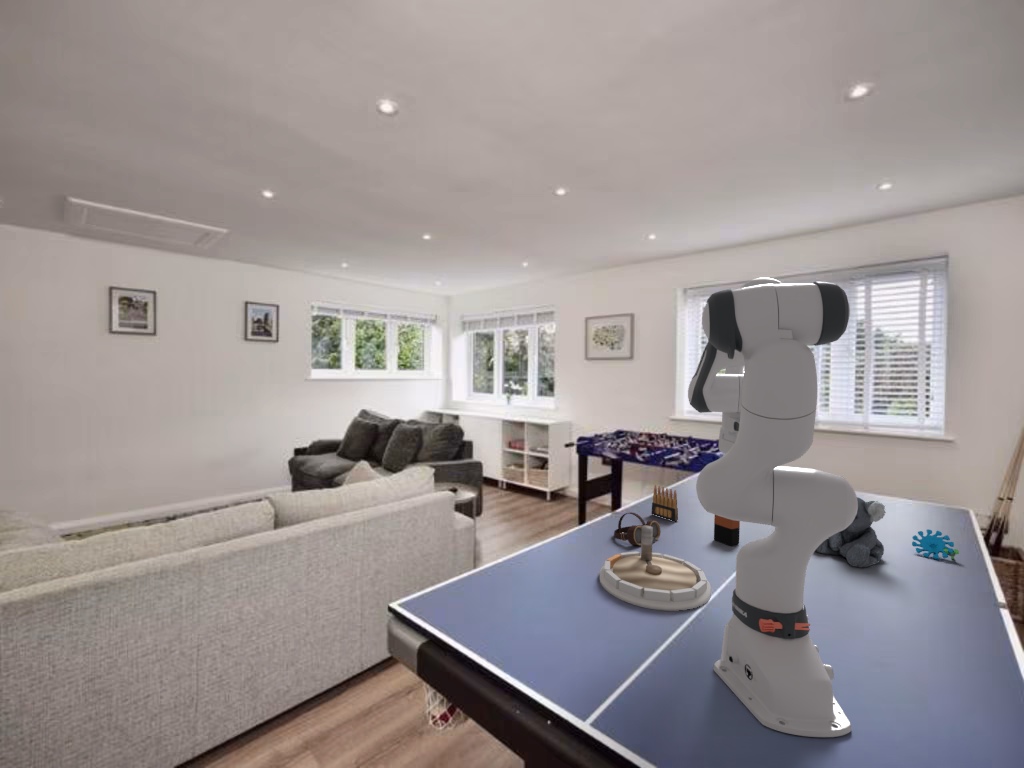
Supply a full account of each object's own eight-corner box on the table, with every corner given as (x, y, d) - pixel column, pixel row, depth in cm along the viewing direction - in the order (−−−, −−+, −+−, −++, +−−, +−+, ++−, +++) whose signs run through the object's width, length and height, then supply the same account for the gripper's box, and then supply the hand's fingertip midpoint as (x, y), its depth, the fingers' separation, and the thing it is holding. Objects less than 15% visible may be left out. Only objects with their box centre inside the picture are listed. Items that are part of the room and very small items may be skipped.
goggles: (638, 549, 148) (632, 516, 149) (605, 546, 158) (601, 516, 159) (665, 539, 157) (660, 508, 159) (633, 537, 167) (628, 508, 169)
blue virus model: (905, 547, 149) (919, 523, 152) (908, 557, 152) (922, 533, 155) (949, 564, 140) (964, 538, 142) (952, 574, 143) (966, 549, 145)
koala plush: (804, 549, 151) (806, 489, 150) (843, 543, 157) (845, 485, 157) (861, 571, 135) (863, 503, 134) (901, 563, 141) (904, 498, 141)
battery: (731, 546, 152) (732, 516, 152) (713, 540, 158) (713, 510, 158) (739, 544, 154) (740, 514, 154) (721, 538, 160) (722, 508, 160)
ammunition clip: (651, 515, 184) (651, 485, 184) (654, 514, 186) (654, 484, 185) (675, 522, 176) (675, 490, 176) (678, 521, 177) (678, 490, 177)
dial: (708, 598, 113) (709, 554, 112) (620, 594, 114) (621, 551, 114) (682, 562, 134) (683, 526, 133) (607, 559, 135) (608, 523, 135)
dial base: (729, 613, 109) (729, 597, 109) (607, 608, 111) (607, 592, 111) (690, 564, 137) (690, 551, 137) (593, 560, 139) (594, 548, 139)
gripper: (713, 418, 134) (712, 466, 134) (744, 427, 114) (743, 483, 114) (736, 419, 134) (734, 467, 134) (771, 427, 113) (769, 484, 114)
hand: (738, 475), depth 124 cm, fingers open, 5 cm apart
